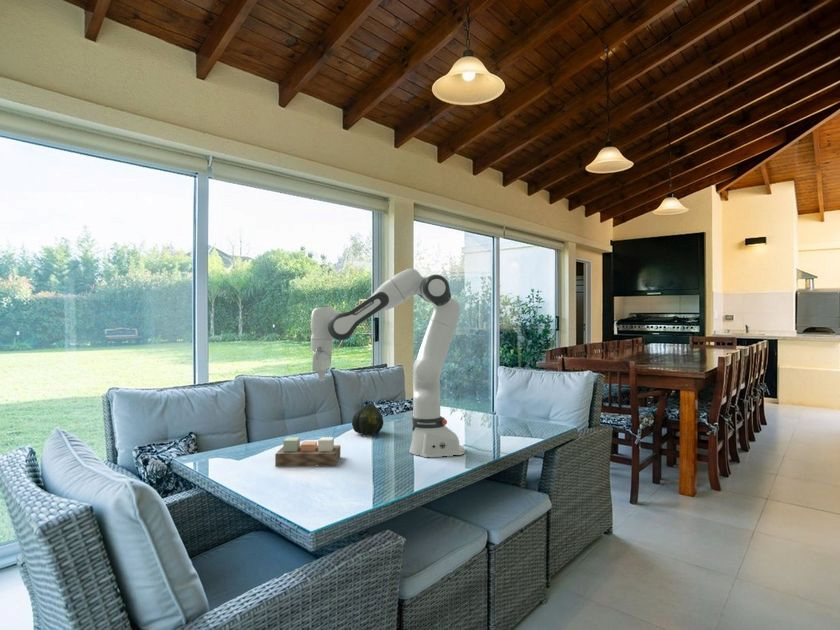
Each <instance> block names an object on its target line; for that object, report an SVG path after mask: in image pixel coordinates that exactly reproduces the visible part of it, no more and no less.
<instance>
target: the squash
mask: <svg viewBox="0 0 840 630" xmlns="http://www.w3.org/2000/svg"><path fill="white" fill-rule="evenodd" d="M351 421H352V422H351V426H352V429H353V431H354V432H355V433H357V434H360V433H361V434H360V435H362V436H364V437H367V436H374V435H375V434H379V433H380V432H381V431H382V429H383V426H384V418H383V415H382V413H381V412H380V410H379V409H378V408H377V407H376V405H375V404H374V403H373V402H371V403H368V404H365V405H364V406H362V407H361V408H360V409H359V410H357V411H356V412H355V414H354V415H353V417H352V420H351Z"/></svg>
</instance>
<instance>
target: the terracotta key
mask: <svg viewBox="0 0 840 630" xmlns="http://www.w3.org/2000/svg"><path fill="white" fill-rule="evenodd" d="M317 445H318V440H317V441H316V440H314V441H313V440H312V441H311V440H310V441H307V440H304V441H303V442H302V443H300V446H301V451H316V449H317Z"/></svg>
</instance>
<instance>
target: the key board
mask: <svg viewBox="0 0 840 630" xmlns="http://www.w3.org/2000/svg"><path fill="white" fill-rule="evenodd" d="M274 456H275V459H274V462H275V464H274V465H275V467H335V466H337V464H338V462H339V460H340V459H339V458H341V445H340V444H337V445H336V444H334V449H333V451H318V444H317V449H316V451H301V445H300V449H299V450H298V451H293V452H283V446H282V447H281V448H280V449H279V450H278V451H276V453H275V454H274ZM316 465H318V466H316Z"/></svg>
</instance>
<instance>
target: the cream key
mask: <svg viewBox="0 0 840 630" xmlns="http://www.w3.org/2000/svg"><path fill="white" fill-rule="evenodd" d="M317 445H318V451H333V449H334V445H335V437H334V436H333V437H332V436H331V437H330V436H329V437H327V436H325V437H324V436H322V437H320V438H318V440H317Z"/></svg>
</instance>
